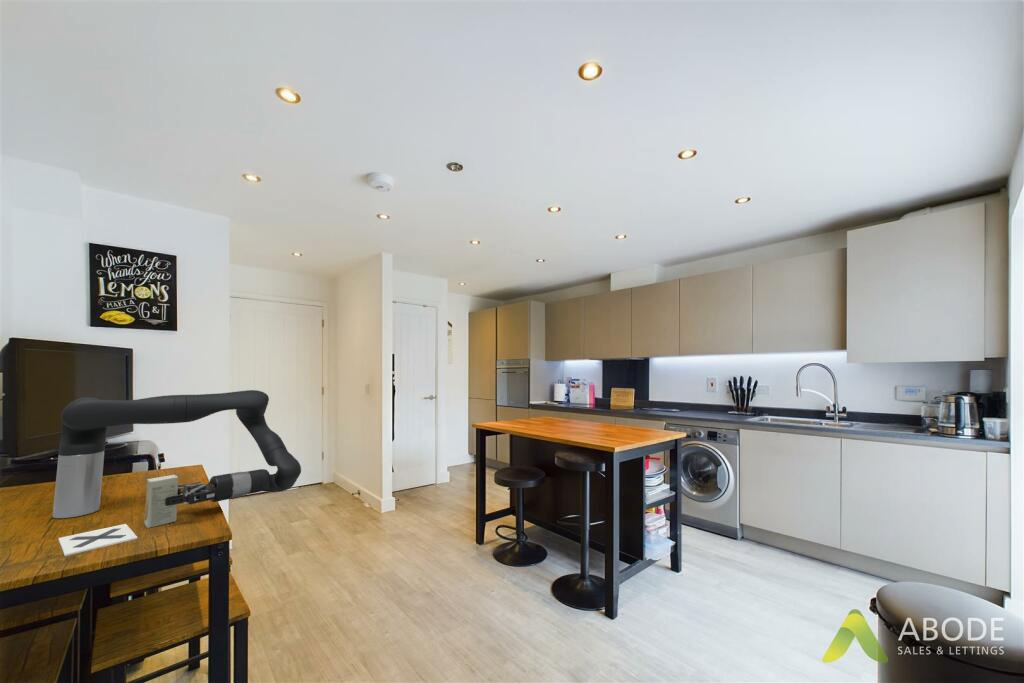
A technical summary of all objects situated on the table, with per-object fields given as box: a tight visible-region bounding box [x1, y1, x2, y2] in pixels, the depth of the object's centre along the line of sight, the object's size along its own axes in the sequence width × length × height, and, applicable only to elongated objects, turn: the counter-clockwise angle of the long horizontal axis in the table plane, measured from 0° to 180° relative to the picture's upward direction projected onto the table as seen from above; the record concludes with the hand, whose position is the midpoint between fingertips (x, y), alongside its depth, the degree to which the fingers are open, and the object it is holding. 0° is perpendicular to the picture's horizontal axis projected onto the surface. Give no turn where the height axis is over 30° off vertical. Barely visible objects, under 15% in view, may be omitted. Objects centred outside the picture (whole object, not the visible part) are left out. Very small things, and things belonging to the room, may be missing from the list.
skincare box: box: [143, 474, 179, 529], centre depth 109 cm, size 6×4×12 cm
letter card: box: [58, 523, 138, 557], centre depth 98 cm, size 14×12×1 cm
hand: (161, 498), depth 109 cm, fingers open, 8 cm apart
